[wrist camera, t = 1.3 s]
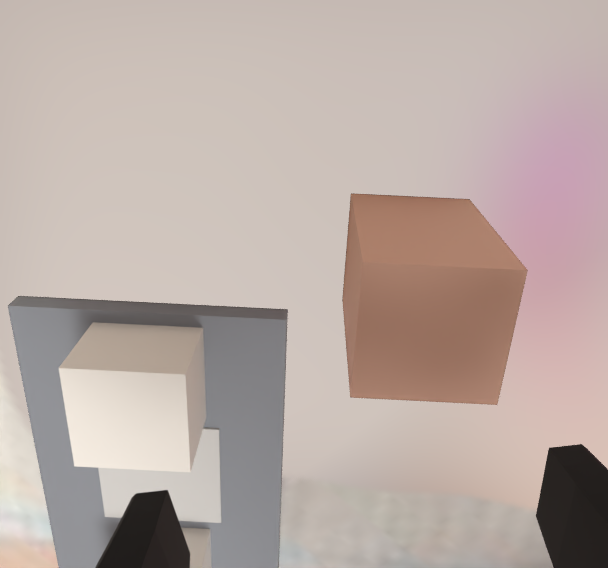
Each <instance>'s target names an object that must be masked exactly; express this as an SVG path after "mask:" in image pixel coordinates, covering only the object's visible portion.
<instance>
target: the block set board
mask: <svg viewBox="0 0 608 568" xmlns="http://www.w3.org/2000/svg"><path fill="white" fill-rule="evenodd" d="M8 309H9V315H10V320H11V325H12V330H13V335H14V340H15V345H16V350H17V356H18V361H19V366H20V371H21V376H22V381H23V386H24V391H25V397H26V402H27V407H28V412H29V417H30V422H31V427H32V432H33V438H34V443H35V448H36V453H37V458H38V463H39V468H40V473H41V479H42V484H43V489H44V494H45V499H46V504H47V509H48V514H49V520H50V525H51V530H52V535H53V540H54V545H55V550H56V555H57V561H58V566H59V568H95V567H96V565H97V563H98V561H99V560H100V558H101V556H102V554H103V552H104V550H105V549H106V547H107V545H108V543H109V541H110V539H111V537H112V535H113V533H114V532H115V530H116V528H117V526H118V524H119V522H120V520H121V518H122V516H123V514H124V512H125V510H126V508H127V506H128V504H129V502H130V500H131V498H132V497H133V496H134V495H135V494H136V493H144V492H153V491H162V490H168V492H169V495H170V498H171V500H172V503H173V506H174V509H175V512H176V515H177V517H178V520H179V523H180V526H181V529H182V531H183V534H184V537H185V540H186V543H187V545H188V548H189V551H190V568H279V541H280V513H281V484H282V456H283V427H284V398H285V370H286V341H287V313H288V310H287V309H267V308H247V307H227V306H206V305H187V304H168V303H148V302H127V301H108V300H88V299H66V298H48V297H28V296H18V297H17V298H16V299H15V300H14V301H12V303H10V304H9V305H8Z"/></svg>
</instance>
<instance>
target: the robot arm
mask: <svg viewBox="0 0 608 568" xmlns="http://www.w3.org/2000/svg"><path fill="white" fill-rule="evenodd" d="M536 517H537V520H538V523H539V526H540V529H541V532H542V535H543V538H544V541H545V544H546V547H547V550H548V553H549V555H550V558H551V561H552V564H553V567H554V568H608V470H607V468H606V467H605V466H604V465H603V464H601V462H600V461H599V460H598V459H597V458H596V457H595V456H594V455H593V454H592V453H590V451H588V449H587V448H585V447H584V446H583V445H582V444H580V445H572V446H562V447H553V448H549V451H548V456H547V461H546V466H545V472H544V477H543V483H542V487H541V493H540V499H539V503H538V508H537V514H536ZM95 568H190V551H189V548H188V545H187V543H186V540H185V537H184V534H183V531H182V529H181V526H180V523H179V520H178V517H177V515H176V512H175V509H174V506H173V503H172V500H171V498H170V495H169V492H168V490H162V491H153V492H144V493H136V494H135V495H134V496H133V497H132V498H131V500H130V502H129V504H128V506H127V508H126V510H125V512H124V514H123V516H122V518H121V520H120V522H119V524H118V526H117V528H116V530H115V532H114V533H113V535H112V537H111V539H110V541H109V543H108V545H107V547H106V549H105V550H104V552H103V554H102V556H101V558H100V560H99V561H98V563H97V565H96V567H95Z"/></svg>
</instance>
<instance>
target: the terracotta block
mask: <svg viewBox="0 0 608 568" xmlns="http://www.w3.org/2000/svg"><path fill="white" fill-rule="evenodd" d="M526 275H527V269H526V268H525V267H524V266H523V264H522V263H521V262H520V260H519V259H518V258H517V257H516V256H515V254H514V253H513V252H512V251H511V249H510V248H509V247H508V246H507V245H506V243H505V242H504V241H503V240H502V238H501V237H500V236H499V235H498V234H497V232H496V231H495V230H494V229H493V227H492V226H491V225H490V224H489V223H488V221H487V220H486V219H485V218H484V216H483V215H482V214H481V213H480V212H479V210H478V209H477V208H476V207H475V206H474V204H473V203H472V202H471V201H470V199H454V198H433V197H413V196H412V197H411V196H391V195H372V194H371V195H370V194H351V200H350V212H349V224H348V238H347V251H346V262H345V275H344V288H343V311H344V324H345V336H346V349H347V361H348V374H349V385H350V397H354V398H373V399H392V400H413V401H432V402H453V403H472V404H491V405H492V404H493V405H497V403H498V398H499V395H500V390H501V385H502V381H503V377H504V372H505V368H506V363H507V359H508V355H509V350H510V346H511V341H512V337H513V332H514V328H515V324H516V319H517V315H518V310H519V306H520V302H521V297H522V292H523V288H524V284H525V279H526Z"/></svg>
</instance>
